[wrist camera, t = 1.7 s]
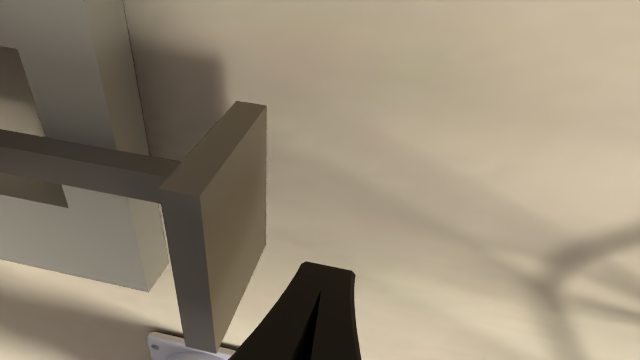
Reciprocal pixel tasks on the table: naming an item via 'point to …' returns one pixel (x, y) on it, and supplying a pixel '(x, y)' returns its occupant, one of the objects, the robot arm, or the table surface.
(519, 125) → the table surface
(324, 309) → the robot arm
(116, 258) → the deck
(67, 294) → the table surface
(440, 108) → the table surface
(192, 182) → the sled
